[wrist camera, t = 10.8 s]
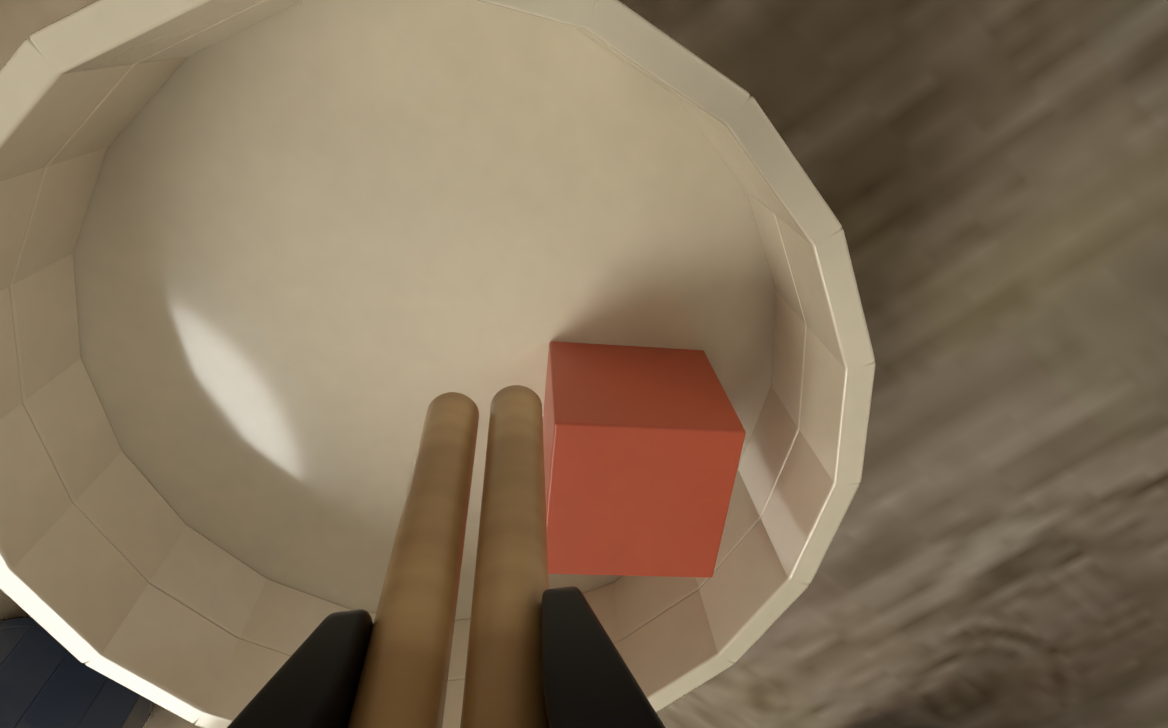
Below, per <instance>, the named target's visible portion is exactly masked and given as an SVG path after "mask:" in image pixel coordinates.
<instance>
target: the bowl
mask: <svg viewBox="0 0 1168 728" xmlns="http://www.w3.org/2000/svg"><path fill="white" fill-rule="evenodd" d="M29 37H30V38H27V39H25V41H24V42H23V43H22V44H21V46H20V47H19V48H18V49H17V51H16V52H15V53H14V54H13V56H12V57H11V58H10V59H9V61H8V62H7V63H6V64H5V66H4V67H3V68H2V69H1V71H0V589H1V590H2V591H3V592H4V593H5V594H6V595H8V596H9V597H10V598H11V599H12V600H13V601H14V602H15V603H16V604H17V605H18V606H20V607H21V608H22V609H23V610H24V611H25V612H26V613H27V614H28V615H29V616H30V617H32V618H33V619H34V620H35V621H36V622H37V623H38V624H39V625H40V626H41V627H42V628H44V629H45V630H46V631H47V632H48V633H49V634H50V635H51V636H52V637H53V638H55V639H56V640H57V641H58V642H59V643H60V644H61V645H62V646H63V647H64V648H65V649H67V650H68V651H69V652H70V653H71V654H72V655H73V656H74V657H75V658H76V659H77V660H79V661H80V662H81V663H85V665H86V666H88V667H89V668H91V669H93V670H95V671H97V672H99V673H100V674H102V675H104V676H106V677H108V678H109V679H111V680H113V681H115V682H117V683H119V684H120V685H122V686H124V687H126V688H128V689H130V690H131V691H133V692H135V693H137V694H139V695H141V696H142V697H144V698H146V699H148V700H150V701H152V702H153V703H155V704H157V705H159V706H161V707H163V708H164V709H166V710H168V711H170V712H172V713H174V714H175V715H177V716H179V717H181V718H183V719H185V720H186V721H188V722H190V723H195V725H196V726H199V727H203V728H227V727H228V726H229V724H230V723H231V722H232V721H233V720H234V719H235V718H236V717H237V716H238V714H239V713H240V712H241V711H242V710H243V709H244V708H245V707H246V706H247V704H248V703H249V702H250V701H251V700H252V699H253V698H254V697H255V696H256V694H257V693H258V692H259V691H260V690H261V689H262V688H263V687H264V686H265V684H266V683H267V682H268V681H269V680H270V679H271V678H272V677H273V676H274V674H275V673H276V672H277V671H278V670H279V669H280V668H281V667H282V666H283V664H284V663H285V662H286V661H287V660H288V659H289V658H290V657H291V656H292V654H293V653H294V652H295V651H296V650H297V649H298V648H299V647H300V646H301V644H302V643H303V642H304V641H305V640H306V639H307V638H308V637H309V636H310V634H311V633H312V632H313V631H314V630H315V629H316V628H317V627H318V626H319V624H320V623H321V622H322V621H323V620H324V619H325V618H326V617H327V616H328V615H330V614H331V613H334V612H341V611H350V610H359V609H363V610H366V611H368V613H369V614H370V616H371V618H372V621H373V623H374V619H375V615H376V611H377V607H378V603H379V600H380V596H381V592H382V588H383V584H384V580H385V576H386V572H387V568H388V564H389V560H390V556H391V552H392V548H393V544H394V540H395V536H396V532H397V528H398V524H399V520H400V516H401V512H402V508H403V504H404V500H405V496H406V492H407V488H408V485H409V481H410V477H411V473H412V469H413V465H414V461H415V457H416V453H417V449H418V445H419V441H420V437H421V433H422V429H423V425H424V421H425V417H426V413H427V409H428V406H429V404H430V403H431V401H432V400H433V399H434V398H436V397H437V396H439V395H441V394H444V393H448V392H457V393H461V394H464V395H466V396H468V397H469V398H471V399H472V400H473V401H474V403H475V404H476V406H477V407H478V410H479V424H478V432H477V441H476V449H475V457H474V466H473V474H472V482H471V491H470V499H469V508H468V516H467V524H466V533H465V541H464V549H463V558H462V566H461V575H460V583H459V591H458V600H457V608H456V616H455V625H454V633H453V642H452V650H451V658H450V667H449V675H448V683H447V692H446V700H445V709H444V717H443V725H442V728H460V724H461V713H462V703H463V692H464V682H465V671H466V660H467V650H468V639H469V629H470V618H471V607H472V597H473V586H474V576H475V565H476V554H477V544H478V533H479V523H480V512H481V501H482V491H483V480H484V470H485V459H486V448H487V438H488V427H489V417H490V406H491V401H492V399H493V397H494V396H495V394H496V393H497V392H498V391H500V390H501V389H503V388H505V387H508V386H512V385H521V386H525V387H528V388H530V389H531V390H533V391H534V392H535V393H536V394H537V395H538V396H539V398H540V400H541V403H542V417H543V412H544V400H545V388H546V376H547V364H548V351H549V343H550V342H551V341H555V342H572V343H589V344H605V345H622V346H639V347H656V348H673V349H690V350H703V351H704V352H705V354H706V356H707V358H708V360H709V362H710V364H711V365H712V367H713V369H714V371H715V373H716V375H717V377H718V379H719V381H720V383H721V385H722V387H723V389H724V391H725V392H726V394H727V396H728V398H729V400H730V402H731V404H732V406H733V408H734V410H735V412H736V414H737V416H738V418H739V420H740V421H741V423H742V425H743V427H744V429H745V431H746V434H745V439H744V443H743V447H742V452H741V456H740V460H739V465H738V469H737V473H736V478H735V482H734V486H733V491H732V495H731V499H730V504H729V508H728V512H727V517H726V521H725V525H724V529H723V534H722V538H721V542H720V547H719V551H718V555H717V560H716V564H715V568H714V573H713V577H711V578H700V577H659V576H618V575H577V574H548V581H549V589H552V588H561V587H570V586H575V587H577V588H578V589H579V590H580V591H581V592H582V594H583V595H584V597H585V598H586V600H587V602H588V603H589V605H590V607H591V608H592V610H593V611H594V613H595V615H596V616H597V618H598V619H599V621H600V623H601V624H602V626H603V628H604V629H605V631H606V632H607V634H608V636H609V637H610V639H611V641H612V642H613V644H614V645H615V647H616V649H617V650H618V652H619V653H620V655H621V657H622V658H623V660H624V662H625V663H626V665H627V666H628V668H629V670H630V671H631V673H632V675H633V676H634V678H635V679H636V681H637V683H638V684H639V686H640V687H641V689H642V691H643V692H644V694H645V696H646V697H647V699H648V700H649V702H650V704H651V705H652V707H653V709H654V710H655V712H658V711H660V710H661V709H663V708H664V707H666V706H668V705H669V704H671V703H673V702H674V701H676V700H677V699H679V698H681V697H682V696H684V695H686V694H687V693H689V692H690V691H692V690H694V689H695V688H697V687H699V686H700V685H702V684H703V683H705V682H707V681H708V680H710V679H712V678H713V677H715V676H716V675H718V674H720V673H721V672H723V671H725V670H726V669H728V668H729V667H731V666H733V664H734V663H736V662H737V661H738V660H739V659H740V658H741V657H742V656H743V655H744V654H745V653H746V652H747V651H748V650H749V649H750V648H751V647H752V646H753V645H754V643H755V642H756V641H757V640H758V639H759V638H760V637H761V636H762V635H763V634H764V633H765V632H766V631H767V630H768V629H769V628H770V627H771V626H772V624H773V623H774V622H775V621H776V620H777V619H778V618H779V617H780V616H781V615H782V614H783V613H784V612H785V611H786V610H787V609H788V608H789V607H790V606H791V604H792V603H793V602H794V601H795V600H796V599H797V598H798V597H799V596H800V595H801V594H802V593H803V592H804V591H805V590H806V589H807V588H808V586H809V584H810V583H811V582H812V580H813V578H814V576H815V574H816V572H817V570H818V568H819V566H820V564H821V562H822V560H823V558H824V556H825V554H826V552H827V550H828V548H829V546H830V544H831V542H832V540H833V538H834V536H835V534H836V532H837V530H838V528H839V526H840V524H841V522H842V520H843V518H844V516H845V513H846V511H847V509H848V507H849V505H850V503H851V501H852V499H853V497H854V495H855V493H856V491H857V489H858V487H859V483H861V478H862V470H863V462H864V454H865V446H866V438H867V430H868V422H869V414H870V406H871V398H872V390H873V381H874V373H875V365H876V364H875V357H874V352H873V348H872V344H871V340H870V336H869V332H868V328H867V324H866V320H865V315H864V311H863V307H862V303H861V299H860V295H859V291H858V287H857V282H856V278H855V274H854V270H853V266H852V262H851V258H850V254H849V250H848V245H847V241H846V237H845V233H844V230H843V229H842V225H841V223H840V222H839V220H838V219H837V217H836V216H835V214H834V213H833V212H832V210H831V209H830V207H829V206H828V204H827V203H826V201H825V200H824V198H823V197H822V196H821V194H820V193H819V191H818V190H817V188H816V187H815V185H814V184H813V182H812V181H811V180H810V178H809V177H808V175H807V174H806V172H805V171H804V169H803V168H802V166H801V165H800V164H799V162H798V161H797V159H796V158H795V156H794V155H793V153H792V152H791V150H790V149H789V148H788V146H787V145H786V143H785V142H784V140H783V139H782V137H781V136H780V134H779V133H778V132H777V130H776V129H775V127H774V126H773V124H772V123H771V121H770V120H769V118H768V117H767V116H766V114H765V113H764V111H763V110H762V108H761V107H760V105H759V104H758V102H757V101H756V100H755V98H754V97H752V96H750V94H749V92H748V91H746V90H745V89H743V88H742V87H740V86H739V85H738V84H736V83H735V82H733V81H732V80H731V79H729V78H728V77H726V76H725V75H724V74H722V73H721V72H719V71H718V70H716V69H715V68H714V67H712V66H711V65H709V64H708V63H707V62H705V61H704V60H702V59H701V58H700V57H698V56H697V55H695V54H694V53H692V52H691V51H690V50H688V49H687V48H685V47H684V46H683V45H681V44H680V43H678V42H677V41H676V40H674V39H673V38H671V37H670V36H668V35H667V34H666V33H664V32H663V31H661V30H660V29H659V28H657V27H656V26H654V25H653V24H652V23H650V22H649V21H647V20H646V19H644V18H643V17H642V16H640V15H639V14H637V13H636V12H635V11H633V10H632V9H630V8H629V7H628V6H626V5H625V4H623V3H622V2H620V1H619V0H97V1H95V2H93V3H91V4H89V5H87V6H85V7H83V8H81V9H80V10H78V11H76V12H74V13H72V14H70V15H68V16H66V17H64V18H62V19H60V20H58V21H56V22H54V23H52V24H50V25H48V26H46V27H44V28H42V29H40V30H38V31H36V32H34V33H32V34H31V35H30V36H29Z"/></svg>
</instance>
